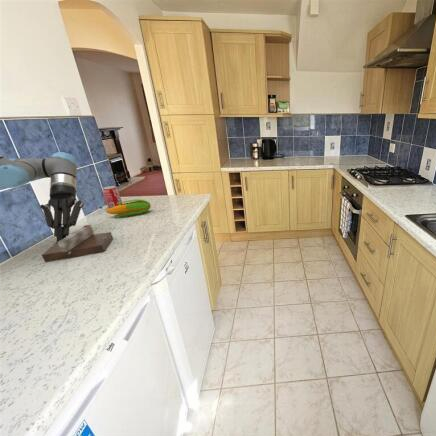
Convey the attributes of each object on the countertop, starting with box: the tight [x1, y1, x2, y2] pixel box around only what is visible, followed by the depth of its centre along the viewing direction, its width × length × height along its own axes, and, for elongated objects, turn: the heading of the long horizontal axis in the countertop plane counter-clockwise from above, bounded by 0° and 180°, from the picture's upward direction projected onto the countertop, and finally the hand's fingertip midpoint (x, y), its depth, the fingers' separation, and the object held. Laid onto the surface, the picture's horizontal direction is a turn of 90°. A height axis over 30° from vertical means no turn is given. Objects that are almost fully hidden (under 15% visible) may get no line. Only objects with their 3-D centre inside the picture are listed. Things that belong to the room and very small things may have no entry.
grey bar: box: [57, 224, 95, 252], centre depth 93 cm, size 14×2×4 cm, turn 3°
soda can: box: [102, 185, 123, 209], centre depth 135 cm, size 7×7×12 cm
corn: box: [105, 199, 151, 218], centre depth 126 cm, size 7×8×20 cm
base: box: [41, 231, 114, 263], centre depth 94 cm, size 18×18×3 cm
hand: (61, 244), depth 88 cm, fingers closed
